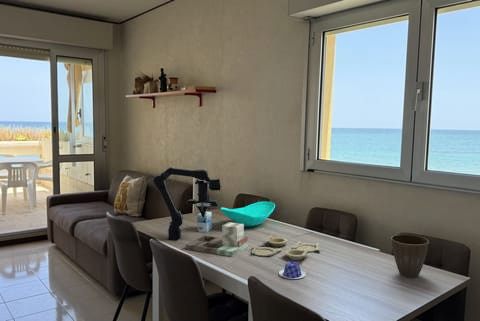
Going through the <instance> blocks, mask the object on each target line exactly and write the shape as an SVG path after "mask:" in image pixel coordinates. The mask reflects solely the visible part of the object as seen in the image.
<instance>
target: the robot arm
mask: <svg viewBox="0 0 480 321" xmlns="http://www.w3.org/2000/svg"><path fill="white" fill-rule="evenodd" d="M172 175H174V176H180V177H190V178H194V179H195V181H194V184H195V185H197V199H194V198H193V199H191V198H190V199H189V200H187V201H186V206H187V207H188V206H190V207H191V206H193V205H196V206H195V208H197V209H198V211H199V213H201V215H202V217H204V216H205V213H206V212H207V211H208V208H210V207H219V205H220V202H221V201H220V200H219V199H211V195H210V194H209V192H208V191H209V190H210V191H212V192H213V191H214V192H215V191H221V180H220V179H219V178H213V179H211V178H210V177H209V176H208V175H209V174H208V172H207V171H206V170H205V169H202V168H201V169H184V168H178V167H177V168H176V167H175V168H174V167H168V168H167V169H166V170H165V171H163V172H161V173H160V174H156V175H155V176H154V178H153V180H152V181H153V182H152V183H153V184H154V186H156V188H157V189H158V190H159V192H160V194H161V195H162V198H163V200H164V202H165V205H166V207H167V209H168V211H169V213H170V217H171V221H170V222H169V224H168V229H167V230H168V231H167V232H168V234H167V235H168V236H167V239H166V240H169V241H179V240H180V239H181V238H182V230H181V226H182V225H183V220H184V215H182V213H181V210H179V211H178V210H177V209H176V206H175V205H174V202H173V200H172V197H171V195H170V194H169V193H170V192H169V191H168V189H167V185H166V180H167V179H168V178H169V177H170V176H172Z"/></svg>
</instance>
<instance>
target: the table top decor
mask: <svg viewBox="0 0 480 321" xmlns="http://www.w3.org/2000/svg"><path fill="white" fill-rule="evenodd" d="M275 207H276V204H275V202H272V201H258V202H255V203H251V204H249V205H246V206H244V207H238V208H227V207H220V210H221V213H223V215H225V216H226V217H227V218H228V219H230V220H232V221H234V223H239V224H244V227H247V228H248V227H254V226H258V225H260V224H262V223H263V222H264V221H266V220H267V219H268V217H270V215H271V214H272V213H273V211H274V210H275Z"/></svg>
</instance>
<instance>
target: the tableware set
mask: <svg viewBox="0 0 480 321" xmlns="http://www.w3.org/2000/svg"><path fill="white" fill-rule="evenodd" d="M263 242H265V243H269V244H270V246H272V247H268V246H267V247H265V246H264V247H263V246H261V247H259V245H252V249H251V254H252V255H255V256H258V257H271V256H273V255H274V256H275V255H276V254H277V253H279V252H281V251H282V250H283V248H276V249H275V248H273V247H283V246H284V245H285V244H287V243H288V242H289V240H288V239H287V238H285V237H279V236H277V237H274V235H273V234H270V235H269V236H268V237H267V238H266V239H265V238H264V239H263ZM319 245H320V243H318V242H315V243H308V242H306V243H305V242H303V243H302V241H298V242H296V243H295V244H294V245H293V246H291V249H289V248H288V249H287V250H285V251H284V252H283V253H284V255H286V256H287V257H288V258H289V259H290V260H293V261H300V260H303V259H304V258H305V257H306V256H307V255H308V253H313V252H314V253H315V252H318V251H321V252H322V248H321V246H319ZM259 250H260V252H257V251H259Z"/></svg>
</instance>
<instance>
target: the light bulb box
mask: <svg viewBox="0 0 480 321" xmlns="http://www.w3.org/2000/svg"><path fill="white" fill-rule="evenodd" d="M196 223H197V232H200V233H202V232H203V233H208V232H209V231H210V230H211V229H212V228H213V213H212V211H206V213H205V216H204V217H202V215H201V213H200V212H199V213H198V214H197V221H196Z"/></svg>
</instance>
